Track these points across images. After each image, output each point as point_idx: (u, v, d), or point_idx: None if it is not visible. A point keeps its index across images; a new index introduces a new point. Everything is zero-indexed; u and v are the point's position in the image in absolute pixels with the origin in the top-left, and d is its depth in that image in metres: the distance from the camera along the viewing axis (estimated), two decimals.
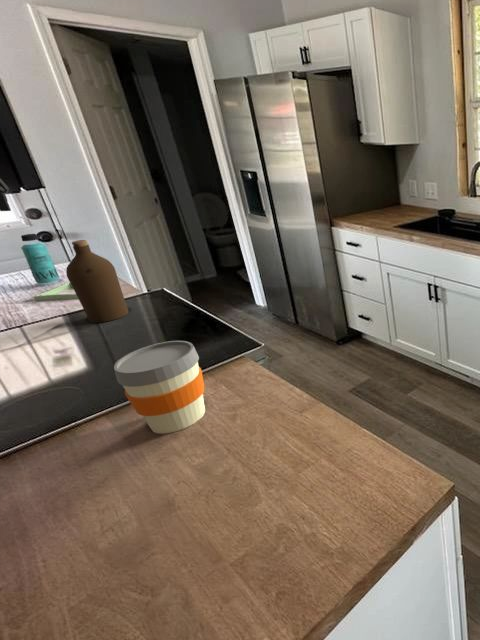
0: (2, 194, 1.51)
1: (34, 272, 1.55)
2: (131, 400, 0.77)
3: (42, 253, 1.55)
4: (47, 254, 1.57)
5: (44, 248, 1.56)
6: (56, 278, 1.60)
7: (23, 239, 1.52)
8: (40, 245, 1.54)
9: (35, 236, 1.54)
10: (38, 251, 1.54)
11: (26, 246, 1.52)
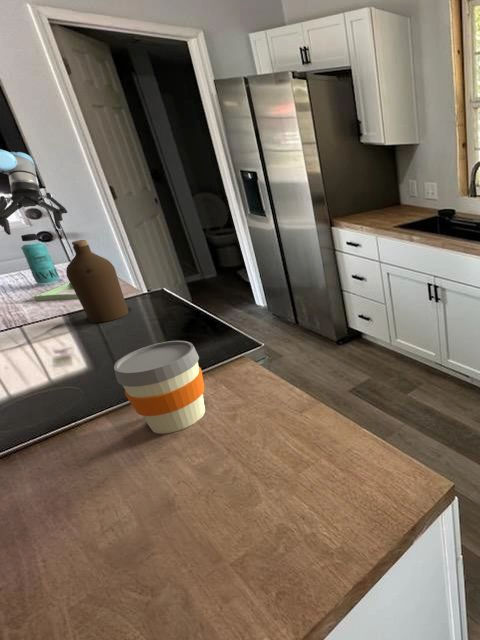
0: None
1: (34, 272, 1.55)
2: (131, 400, 0.77)
3: (42, 253, 1.55)
4: (47, 254, 1.57)
5: (44, 248, 1.56)
6: (56, 278, 1.60)
7: (23, 239, 1.52)
8: (40, 245, 1.54)
9: (35, 236, 1.54)
10: (38, 251, 1.54)
11: (26, 246, 1.52)
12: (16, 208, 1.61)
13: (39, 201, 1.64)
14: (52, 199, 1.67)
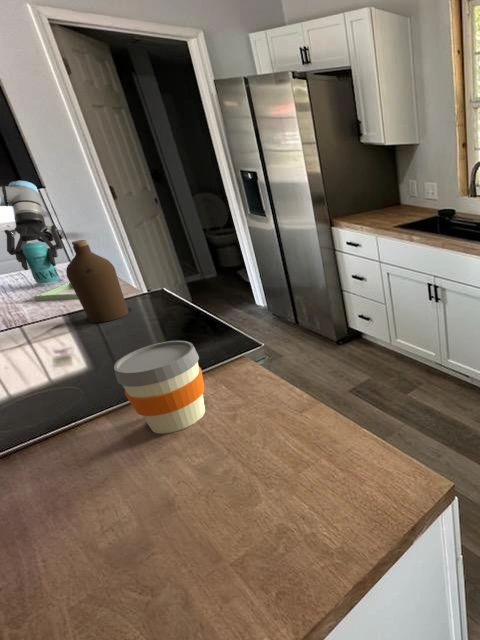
0: None
1: (34, 272, 1.55)
2: (131, 400, 0.77)
3: (42, 253, 1.55)
4: (47, 254, 1.57)
5: (44, 248, 1.56)
6: (56, 278, 1.59)
7: (23, 239, 1.51)
8: (40, 245, 1.54)
9: (35, 236, 1.53)
10: (38, 251, 1.54)
11: (26, 246, 1.52)
12: None
13: (40, 234, 1.58)
14: (54, 232, 1.60)
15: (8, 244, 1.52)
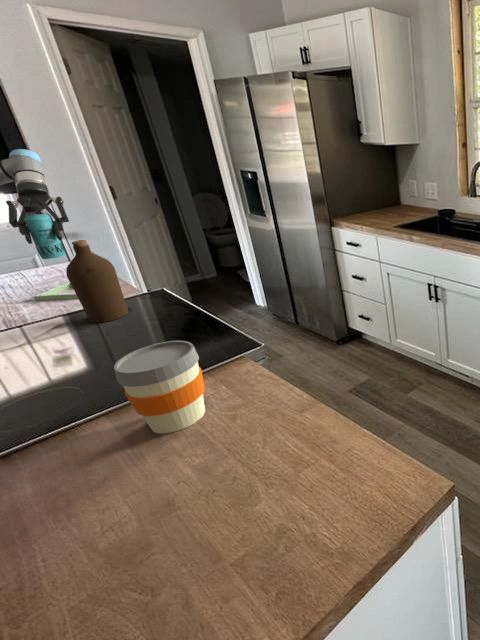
0: None
1: (38, 246, 1.44)
2: (131, 400, 0.77)
3: (47, 225, 1.43)
4: (52, 227, 1.45)
5: (49, 220, 1.44)
6: (62, 253, 1.48)
7: (26, 210, 1.40)
8: (45, 216, 1.43)
9: (39, 207, 1.42)
10: (43, 223, 1.42)
11: (30, 218, 1.40)
12: (29, 212, 1.45)
13: (45, 205, 1.46)
14: (59, 204, 1.49)
15: (11, 215, 1.41)
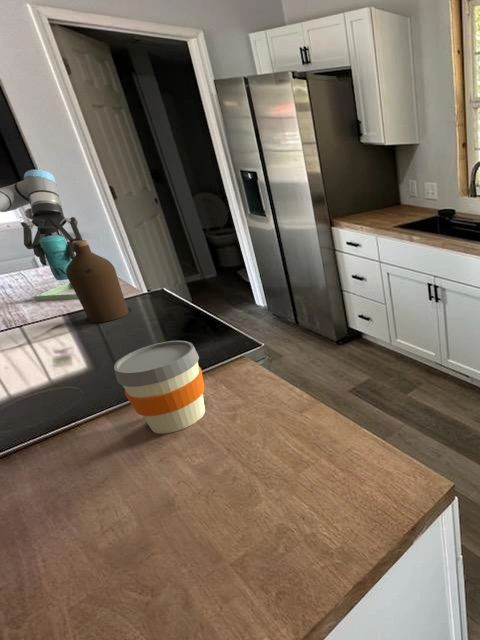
0: None
1: (53, 268, 1.43)
2: (131, 400, 0.77)
3: (61, 247, 1.43)
4: (66, 248, 1.45)
5: (63, 242, 1.44)
6: None
7: (41, 232, 1.40)
8: (59, 238, 1.42)
9: (54, 229, 1.42)
10: (57, 245, 1.42)
11: (44, 239, 1.40)
12: None
13: (59, 226, 1.46)
14: (73, 225, 1.48)
15: (25, 237, 1.41)
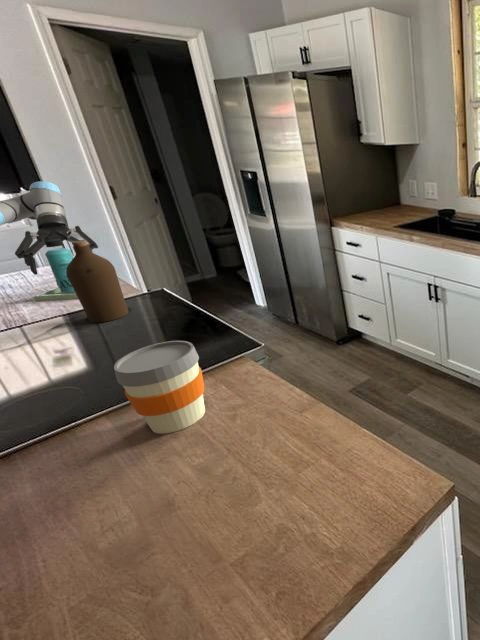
0: None
1: (59, 280, 1.45)
2: (131, 400, 0.77)
3: (67, 260, 1.45)
4: None
5: (69, 254, 1.46)
6: None
7: (47, 245, 1.41)
8: (65, 251, 1.44)
9: (60, 242, 1.43)
10: (63, 257, 1.44)
11: (50, 252, 1.42)
12: (43, 244, 1.46)
13: (68, 236, 1.48)
14: (82, 233, 1.51)
15: (20, 246, 1.41)
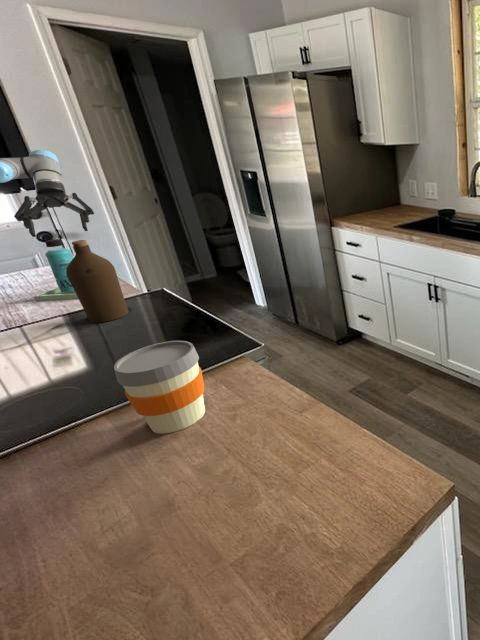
0: None
1: (59, 280, 1.45)
2: (131, 400, 0.77)
3: (67, 260, 1.45)
4: None
5: (69, 254, 1.46)
6: None
7: (47, 245, 1.41)
8: (65, 251, 1.44)
9: (60, 242, 1.43)
10: (63, 257, 1.44)
11: (51, 252, 1.42)
12: (41, 209, 1.52)
13: (65, 201, 1.55)
14: (78, 199, 1.58)
15: (20, 210, 1.48)
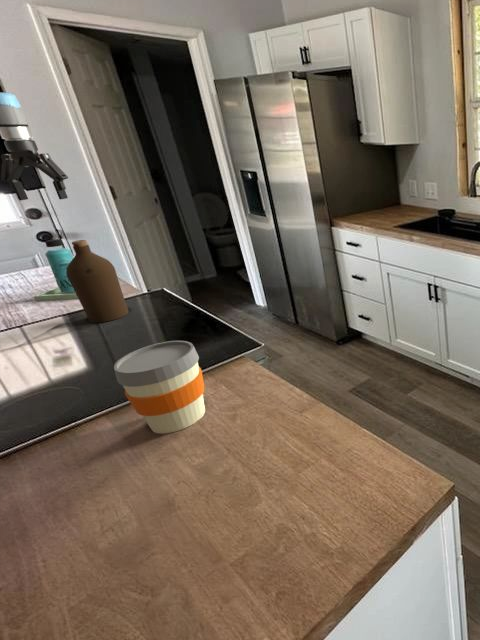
0: (20, 183, 1.54)
1: (59, 280, 1.45)
2: (131, 400, 0.77)
3: (67, 260, 1.45)
4: None
5: (69, 254, 1.46)
6: None
7: (47, 245, 1.41)
8: (65, 251, 1.44)
9: (60, 242, 1.43)
10: (63, 257, 1.44)
11: (51, 252, 1.42)
12: (21, 168, 1.51)
13: (36, 166, 1.50)
14: (47, 164, 1.50)
15: (3, 172, 1.50)
